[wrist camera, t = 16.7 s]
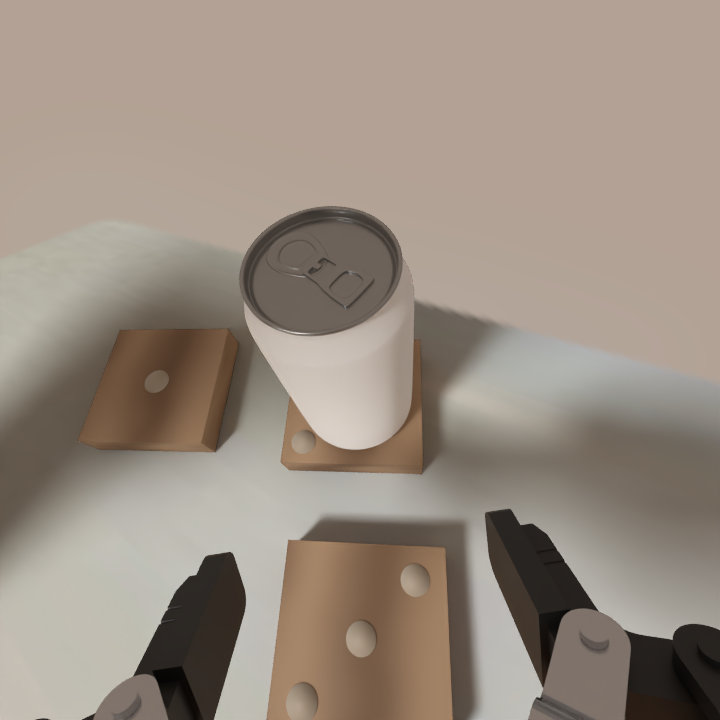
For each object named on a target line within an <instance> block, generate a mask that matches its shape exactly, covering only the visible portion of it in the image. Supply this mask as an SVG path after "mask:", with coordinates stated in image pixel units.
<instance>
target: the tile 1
mask: <svg viewBox="0 0 720 720" xmlns="http://www.w3.org/2000/svg"><path fill="white" fill-rule="evenodd" d="M238 345H239V343H238V342H237V340H236V339H235V337H234V336H233V335H232V333H231V332H230V330H229V329H167V330H120V332H119V334H118V337H117V339H116V342H115V345H114V347H113V350H112V352H111V355H110V358H109V360H108V363H107V365H106V368H105V371H104V373H103V376H102V378H101V381H100V384H99V386H98V389H97V391H96V394H95V397H94V399H93V402H92V404H91V407H90V410H89V412H88V415H87V418H86V420H85V423H84V425H83V428H82V431H81V433H80V436H79V438H78V441H80V442H83V443H85V444H87V445H90V446H92V447H95V448H97V449H106V450H147V451H189V452H215V450H216V446H217V441H218V437H219V432H220V427H221V423H222V418H223V414H224V409H225V405H226V400H227V395H228V391H229V386H230V382H231V377H232V373H233V368H234V363H235V359H236V354H237V350H238Z"/></svg>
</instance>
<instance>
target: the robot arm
mask: <svg viewBox="0 0 720 720" xmlns="http://www.w3.org/2000/svg"><path fill="white" fill-rule="evenodd" d="M485 521H486V531H487V541H488V552H489V558H490V562H491V566H492V569H493V572H494V575H495V577H496V580H497V582H498V584H499V587H500V589H501V591H502V594H503V596H504V598H505V601H506V603H507V605H508V608H509V610H510V612H511V615H512V617H513V619H514V622H515V624H516V626H517V629H518V631H519V633H520V636H521V638H522V640H523V643H524V645H525V647H526V650H527V652H528V654H529V657H530V659H531V661H532V664H533V666H534V668H535V671H536V673H537V675H538V677H539V680H540V682H541V684H542V687H544V688H543V692H542V695H541V697H540V698H538V697H537V698H536V699H535V700H534V702H533V705H532V708H531V711H530V715H529V719H528V720H720V630H718V629H716V628H713V627H710V626H705V625H700V624H688V625H684V626H681V627H679V628H678V629H677V630H676V631H675V633H674V635H673V640H670V639H663V638H657V637H650V636H644V635H639V634H635V633H631V632H628V631H626V630H624V629H623V628H622V627H621V626H620V625H619V624H618V623H617V622H616V621H615V620H613V619H612V618H610V617H609V616H607V615H605V614H603V613H601V612H599V611H598V610H597V608H596V607H595V605H594V604H593V602H592V601H591V599H590V598H589V596H588V595H587V593H586V592H585V590H584V589H583V587H582V586H581V584H580V583H579V581H578V580H577V578H576V577H575V575H574V574H573V572H572V571H571V570H570V568H569V567H568V565H567V564H566V563H565V562H564V559H563V558H562V556H561V555H560V553H559V552H558V551H557V549H556V547H555V546H554V544H553V543H552V541H551V540H550V538H549V537H548V535H547V534H546V533H544V532H543V531H542V530H540V529H539V528H538V527H536V526H535V525H534V524H526V525H520V524H519V522H518V520H517V519H516V517H515V515H514V514H513V512H512V511H511V509H504V510H498V511H491V512H486V513H485ZM245 606H246V595H245V589H244V586H243V583H242V580H241V576H240V573H239V570H238V567H237V564H236V561H235V558H234V555H233V554H232V553H231V552H227V553H221V554H214V555H208V556H206V557H205V558H204V560H203V562H202V564H201V566H200V568H199V571H198V573H197V575H195V576H189V577H188V578H187V580H186V581H185V582H184V583H183V584H182V585H181V586H180V587H179V588H178V590H177V591H176V592H175V594H174V596H173V598H172V600H171V602H170V604H169V606H168V610H167V611H166V612H165V614H164V616H163V618H162V620H161V624H159V626H158V628H157V630H156V632H155V634H154V636H153V638H152V640H151V642H150V644H149V646H148V648H147V650H146V652H145V654H144V656H143V658H142V660H141V662H140V664H139V666H138V668H137V670H136V672H135V674H134V676H133V677H131V678H129V679H127V680H126V681H124V682H122V683H121V684H120V685H118V686H117V687H116V688H115V689H113V690H112V691H111V692H110V693H109V694H108V695H107V697H106V698H105V699H104V700H103V702H102V703H101V705H100V706H99V708H98V710H97V712H96V713H95V714H93V715H91V716H89V717H86V718H84V719H82V720H214V717H215V713H216V710H217V706H218V703H219V699H220V696H221V692H222V689H223V685H224V682H225V679H226V675H227V672H228V668H229V665H230V661H231V658H232V654H233V651H234V647H235V644H236V640H237V637H238V633H239V630H240V626H241V623H242V619H243V616H244V612H245ZM37 720H49V719H44V718H43V719H37Z"/></svg>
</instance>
